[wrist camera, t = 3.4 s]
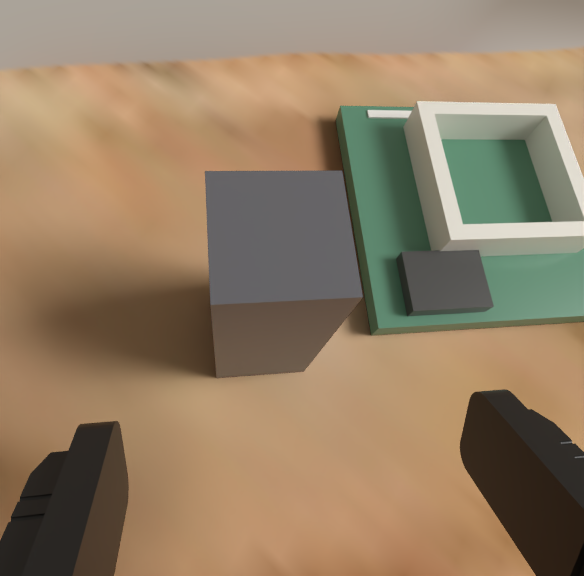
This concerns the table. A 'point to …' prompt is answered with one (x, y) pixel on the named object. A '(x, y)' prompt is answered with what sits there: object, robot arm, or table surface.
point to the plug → (277, 267)
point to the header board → (464, 215)
